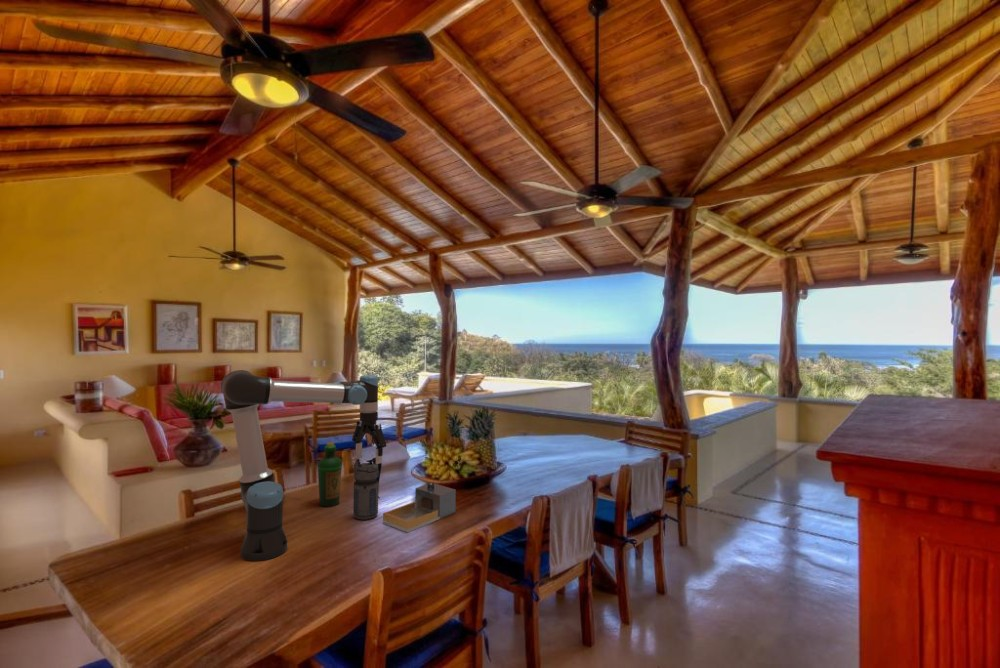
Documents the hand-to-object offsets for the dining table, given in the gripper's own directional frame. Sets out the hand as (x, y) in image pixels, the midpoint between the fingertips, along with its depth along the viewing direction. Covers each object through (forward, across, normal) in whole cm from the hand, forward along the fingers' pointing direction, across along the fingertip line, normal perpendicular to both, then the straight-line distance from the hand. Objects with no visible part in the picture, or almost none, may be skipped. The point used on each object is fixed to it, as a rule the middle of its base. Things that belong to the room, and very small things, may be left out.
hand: (368, 460), depth 207 cm
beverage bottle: (+24, 0, 0) cm, 24 cm away
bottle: (+24, +25, +2) cm, 35 cm away
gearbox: (+24, -19, -13) cm, 33 cm away
